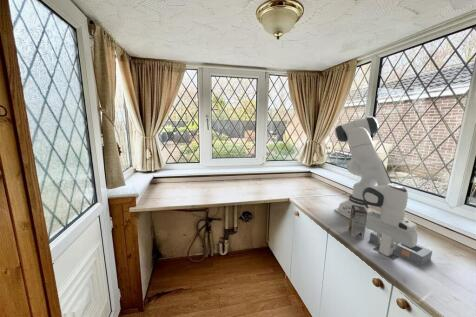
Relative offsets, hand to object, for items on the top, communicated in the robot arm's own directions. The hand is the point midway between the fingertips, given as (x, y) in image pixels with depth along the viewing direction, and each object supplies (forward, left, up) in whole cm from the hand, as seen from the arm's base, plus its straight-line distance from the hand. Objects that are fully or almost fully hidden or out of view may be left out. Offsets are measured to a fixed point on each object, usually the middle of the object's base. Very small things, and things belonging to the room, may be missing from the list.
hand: (386, 245), depth 96 cm
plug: (0, 0, -4) cm, 4 cm away
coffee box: (-17, +3, -5) cm, 18 cm away
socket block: (+1, +9, -5) cm, 11 cm away
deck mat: (0, 0, -5) cm, 5 cm away
